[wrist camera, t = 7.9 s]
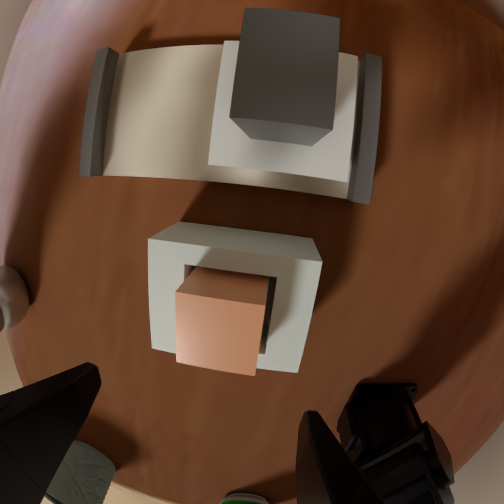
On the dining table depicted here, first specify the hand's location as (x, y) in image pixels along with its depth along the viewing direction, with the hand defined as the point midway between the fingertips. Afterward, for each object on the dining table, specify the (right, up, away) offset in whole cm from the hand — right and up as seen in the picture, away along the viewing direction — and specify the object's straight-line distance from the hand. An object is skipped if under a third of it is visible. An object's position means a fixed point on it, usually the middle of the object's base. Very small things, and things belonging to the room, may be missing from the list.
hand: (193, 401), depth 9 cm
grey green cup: (-24, -28, +23) cm, 43 cm away
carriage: (+4, +13, +7) cm, 15 cm away
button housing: (+1, +3, +11) cm, 12 cm away
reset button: (+1, +2, +8) cm, 8 cm away
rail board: (0, +14, +8) cm, 16 cm away
